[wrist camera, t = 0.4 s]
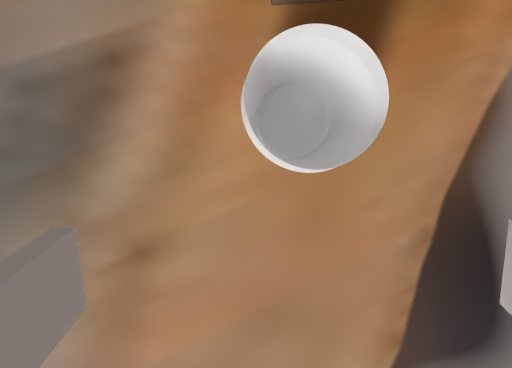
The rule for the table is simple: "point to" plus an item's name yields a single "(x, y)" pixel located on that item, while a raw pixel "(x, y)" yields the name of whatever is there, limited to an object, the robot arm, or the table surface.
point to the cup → (314, 98)
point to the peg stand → (295, 1)
